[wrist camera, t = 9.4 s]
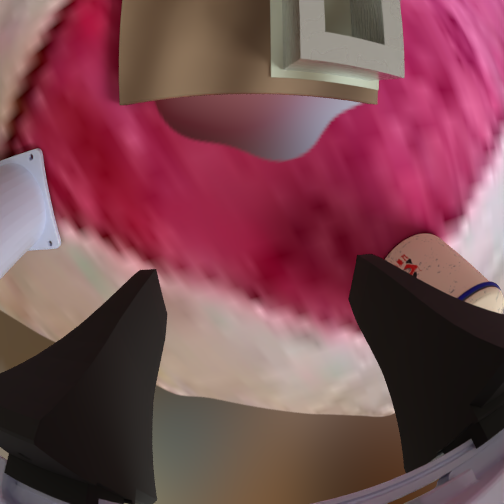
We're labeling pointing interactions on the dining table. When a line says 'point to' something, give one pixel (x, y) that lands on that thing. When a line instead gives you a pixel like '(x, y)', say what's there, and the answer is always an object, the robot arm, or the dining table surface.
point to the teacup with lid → (445, 271)
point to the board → (221, 51)
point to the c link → (344, 40)
